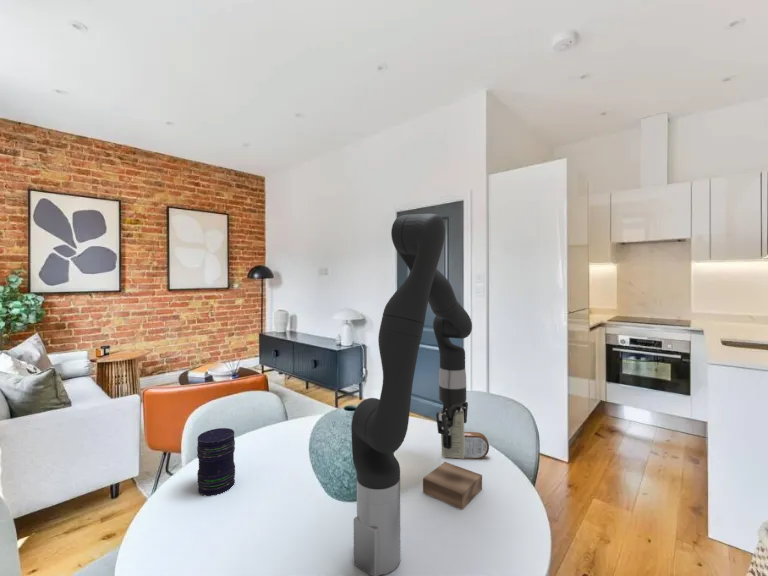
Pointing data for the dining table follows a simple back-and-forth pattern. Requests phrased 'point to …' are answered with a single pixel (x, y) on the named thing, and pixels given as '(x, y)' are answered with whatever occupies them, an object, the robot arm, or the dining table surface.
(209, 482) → the dark blue cylinder
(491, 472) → the dining table surface
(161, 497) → the dining table surface
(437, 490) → the walnut plinth
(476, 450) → the tin
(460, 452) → the skincare box
